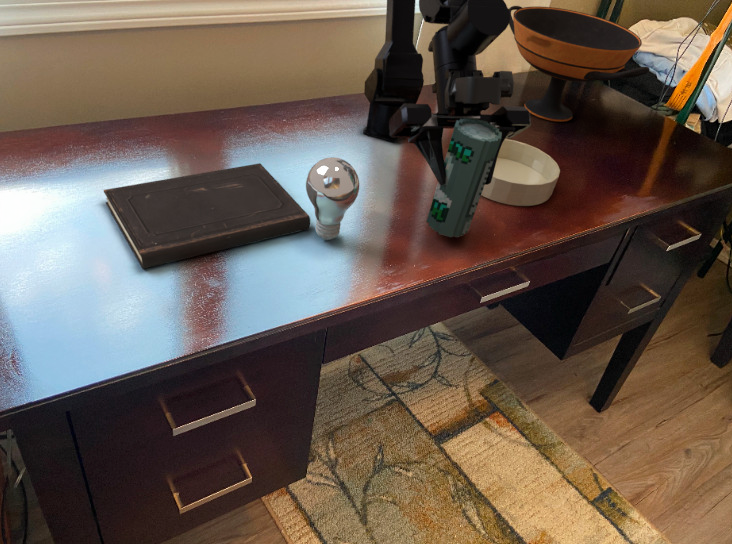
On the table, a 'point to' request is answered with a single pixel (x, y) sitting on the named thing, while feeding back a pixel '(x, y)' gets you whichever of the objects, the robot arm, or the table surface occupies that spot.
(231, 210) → the hardcover book
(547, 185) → the pan
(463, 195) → the can
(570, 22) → the footed terracotta bowl
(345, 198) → the light bulb
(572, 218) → the table surface
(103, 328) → the table surface
